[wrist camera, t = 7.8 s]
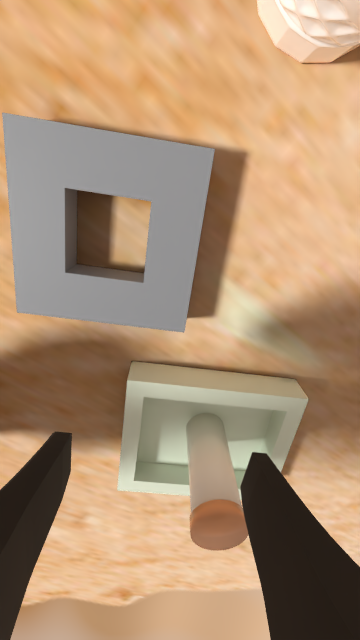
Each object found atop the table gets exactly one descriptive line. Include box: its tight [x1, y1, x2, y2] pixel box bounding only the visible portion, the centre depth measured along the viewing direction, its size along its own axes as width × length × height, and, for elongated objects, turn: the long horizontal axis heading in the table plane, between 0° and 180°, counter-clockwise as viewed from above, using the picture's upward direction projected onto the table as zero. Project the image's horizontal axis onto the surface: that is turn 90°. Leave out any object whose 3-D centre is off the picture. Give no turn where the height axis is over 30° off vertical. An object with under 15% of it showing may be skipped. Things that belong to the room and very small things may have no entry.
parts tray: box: [117, 361, 309, 500], centre depth 23 cm, size 12×10×2 cm
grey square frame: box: [2, 113, 215, 332], centre depth 17 cm, size 10×10×2 cm
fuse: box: [186, 413, 248, 550], centre depth 20 cm, size 3×3×8 cm
